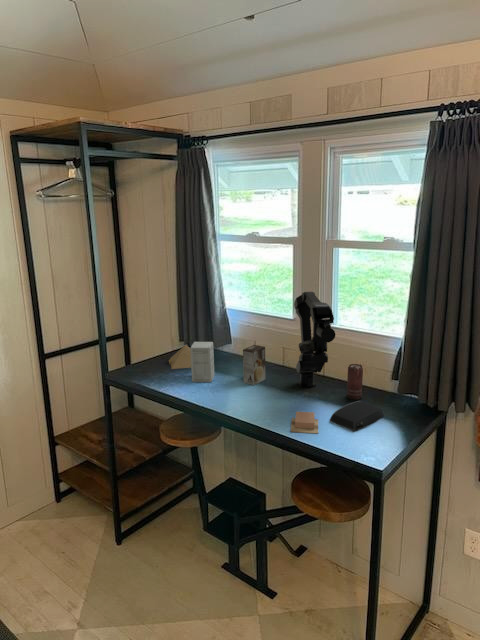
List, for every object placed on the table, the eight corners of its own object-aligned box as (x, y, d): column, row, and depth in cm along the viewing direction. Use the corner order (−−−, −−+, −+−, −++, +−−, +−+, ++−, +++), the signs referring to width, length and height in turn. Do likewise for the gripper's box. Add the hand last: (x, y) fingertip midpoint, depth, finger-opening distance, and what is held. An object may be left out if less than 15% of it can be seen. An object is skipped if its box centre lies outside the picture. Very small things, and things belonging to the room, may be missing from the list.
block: (296, 411, 189) (295, 422, 181) (314, 412, 188) (314, 423, 180) (296, 417, 190) (295, 428, 181) (314, 418, 189) (314, 429, 180)
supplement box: (214, 375, 235) (214, 341, 231) (211, 382, 226) (210, 347, 222) (195, 374, 236) (193, 341, 232) (191, 382, 227) (190, 347, 223)
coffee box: (254, 376, 233) (254, 344, 229) (265, 379, 229) (265, 346, 225) (243, 382, 226) (242, 349, 222) (254, 385, 222) (254, 351, 218)
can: (351, 401, 205) (352, 369, 201) (344, 395, 210) (345, 364, 207) (364, 399, 206) (366, 367, 202) (357, 393, 212) (358, 362, 208)
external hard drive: (327, 421, 188) (327, 411, 187) (357, 407, 200) (358, 397, 199) (355, 433, 178) (356, 423, 177) (385, 417, 191) (386, 407, 190)
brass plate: (291, 418, 190) (291, 417, 190) (318, 420, 188) (318, 419, 188) (290, 432, 179) (290, 431, 179) (318, 433, 178) (318, 432, 178)
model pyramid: (168, 359, 260) (167, 341, 257) (200, 356, 263) (200, 338, 260) (169, 370, 244) (168, 350, 241) (204, 367, 247) (203, 348, 244)
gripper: (300, 328, 208) (300, 363, 211) (299, 341, 190) (298, 379, 194) (327, 329, 206) (326, 364, 210) (328, 342, 188) (327, 380, 192)
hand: (319, 371), depth 201 cm, fingers closed
